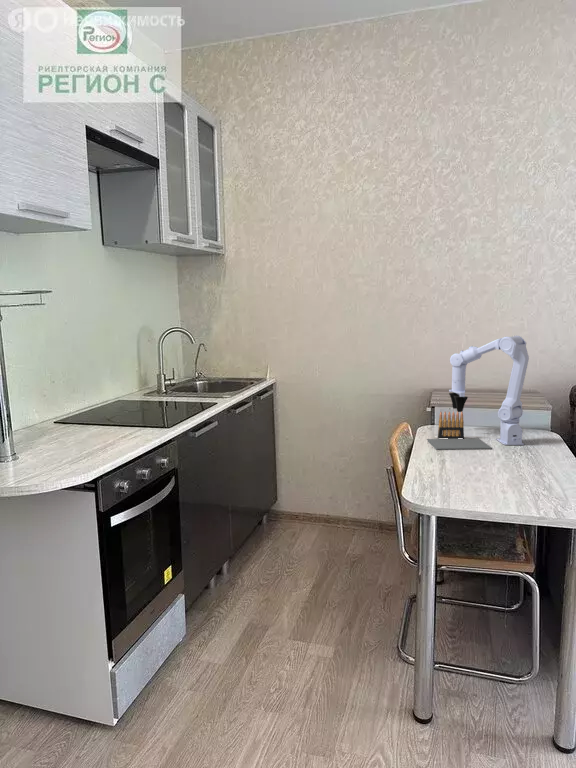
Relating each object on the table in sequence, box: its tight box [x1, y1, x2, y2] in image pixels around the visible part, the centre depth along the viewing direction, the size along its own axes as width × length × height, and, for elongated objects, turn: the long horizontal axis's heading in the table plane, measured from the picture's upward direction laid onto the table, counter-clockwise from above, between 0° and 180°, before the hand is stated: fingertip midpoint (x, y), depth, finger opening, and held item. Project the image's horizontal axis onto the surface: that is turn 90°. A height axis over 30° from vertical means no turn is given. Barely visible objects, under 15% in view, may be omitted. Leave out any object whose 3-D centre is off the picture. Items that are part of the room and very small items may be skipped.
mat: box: [426, 437, 493, 451], centre depth 221 cm, size 16×22×1 cm
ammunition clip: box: [437, 410, 465, 439], centre depth 231 cm, size 11×2×12 cm, turn 83°
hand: (457, 410), depth 241 cm, fingers open, 7 cm apart
